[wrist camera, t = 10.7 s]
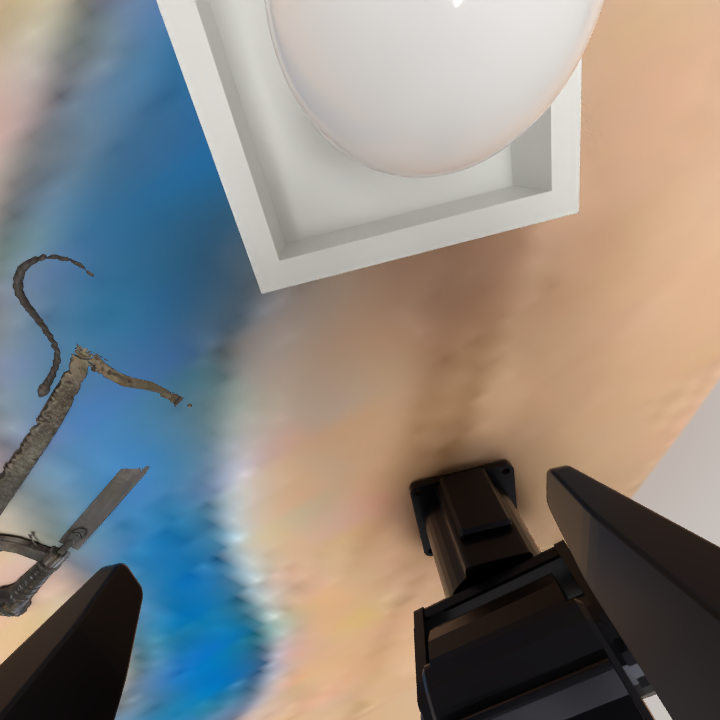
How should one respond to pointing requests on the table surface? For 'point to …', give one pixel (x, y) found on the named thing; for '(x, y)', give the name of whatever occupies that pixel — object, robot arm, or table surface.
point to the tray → (347, 162)
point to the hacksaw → (35, 442)
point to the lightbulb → (427, 74)
